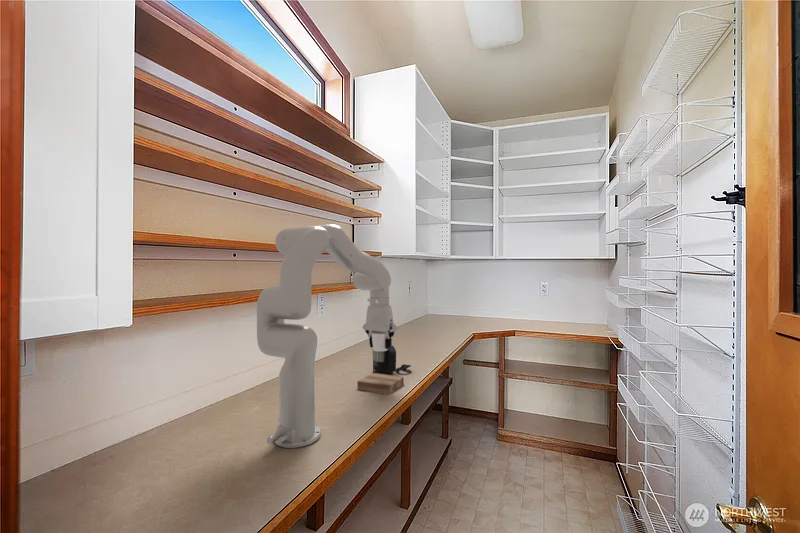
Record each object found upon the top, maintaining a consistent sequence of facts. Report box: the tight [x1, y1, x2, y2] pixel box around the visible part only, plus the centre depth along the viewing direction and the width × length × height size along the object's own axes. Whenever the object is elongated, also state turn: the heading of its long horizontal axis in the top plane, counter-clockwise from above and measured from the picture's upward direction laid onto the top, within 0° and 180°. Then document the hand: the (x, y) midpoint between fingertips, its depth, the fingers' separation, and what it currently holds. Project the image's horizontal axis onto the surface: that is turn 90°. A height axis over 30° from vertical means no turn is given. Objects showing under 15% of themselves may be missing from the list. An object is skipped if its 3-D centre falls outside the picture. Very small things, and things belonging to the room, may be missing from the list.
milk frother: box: [371, 338, 412, 375], centre depth 162 cm, size 14×16×15 cm
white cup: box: [371, 331, 388, 352], centre depth 143 cm, size 7×7×7 cm
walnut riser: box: [357, 373, 405, 395], centre depth 143 cm, size 12×14×3 cm
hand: (380, 347), depth 143 cm, fingers closed on white cup, 6 cm apart
